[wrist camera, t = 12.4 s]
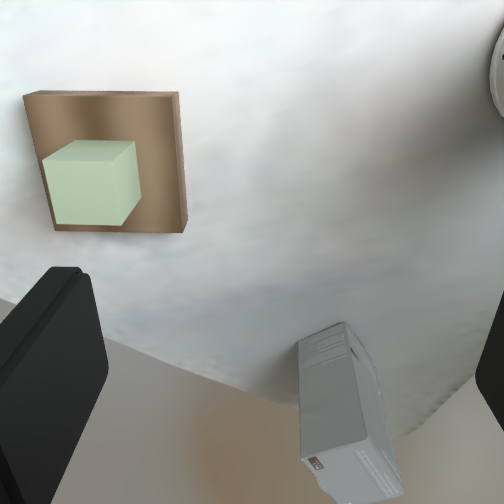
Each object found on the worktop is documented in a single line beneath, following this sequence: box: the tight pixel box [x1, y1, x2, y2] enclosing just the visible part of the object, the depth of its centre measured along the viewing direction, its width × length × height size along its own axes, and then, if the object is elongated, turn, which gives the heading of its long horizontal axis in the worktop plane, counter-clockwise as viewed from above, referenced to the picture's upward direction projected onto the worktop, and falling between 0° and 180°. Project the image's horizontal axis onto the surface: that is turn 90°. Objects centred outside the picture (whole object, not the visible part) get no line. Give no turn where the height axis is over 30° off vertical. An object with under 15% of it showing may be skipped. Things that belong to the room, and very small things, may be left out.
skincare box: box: [297, 322, 405, 504], centre depth 42 cm, size 8×7×16 cm
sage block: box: [42, 140, 141, 226], centre depth 34 cm, size 5×5×6 cm
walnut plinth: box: [23, 91, 188, 233], centre depth 38 cm, size 12×12×3 cm
